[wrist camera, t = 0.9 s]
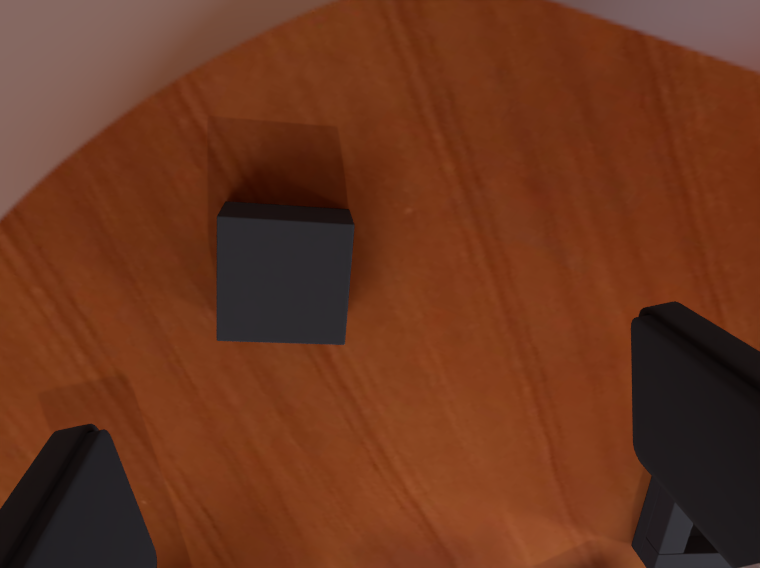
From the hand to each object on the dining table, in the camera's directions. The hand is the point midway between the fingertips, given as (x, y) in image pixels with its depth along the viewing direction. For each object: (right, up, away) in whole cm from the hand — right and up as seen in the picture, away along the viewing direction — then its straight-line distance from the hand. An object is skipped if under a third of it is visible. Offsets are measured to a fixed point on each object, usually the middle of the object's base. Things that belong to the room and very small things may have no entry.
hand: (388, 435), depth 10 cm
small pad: (-5, +4, +19) cm, 20 cm away
